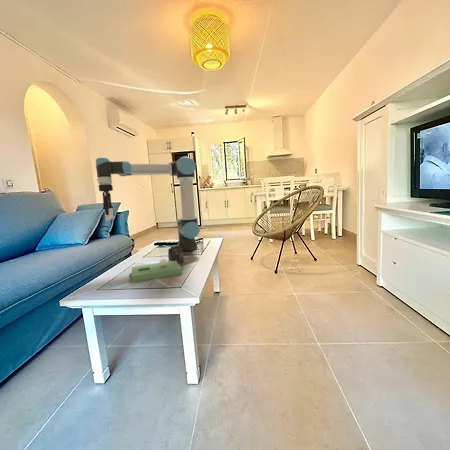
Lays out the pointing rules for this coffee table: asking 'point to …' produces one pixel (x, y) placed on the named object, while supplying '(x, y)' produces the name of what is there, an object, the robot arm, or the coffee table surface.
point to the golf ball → (163, 262)
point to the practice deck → (155, 271)
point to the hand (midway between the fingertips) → (109, 219)
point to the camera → (176, 254)
